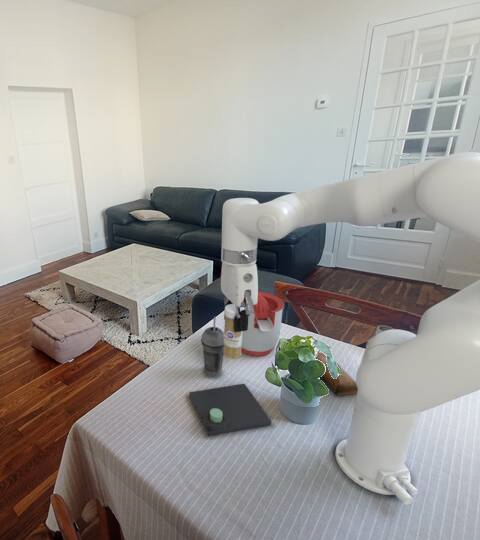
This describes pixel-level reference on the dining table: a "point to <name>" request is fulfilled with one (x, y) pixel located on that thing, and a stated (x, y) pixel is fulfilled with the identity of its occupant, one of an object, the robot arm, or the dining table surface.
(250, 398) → the scale
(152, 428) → the dining table surface
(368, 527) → the dining table surface
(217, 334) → the beverage cup
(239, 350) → the sprinkles bottle
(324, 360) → the brown leather shoe
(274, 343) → the citrus juicer
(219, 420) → the tare button
